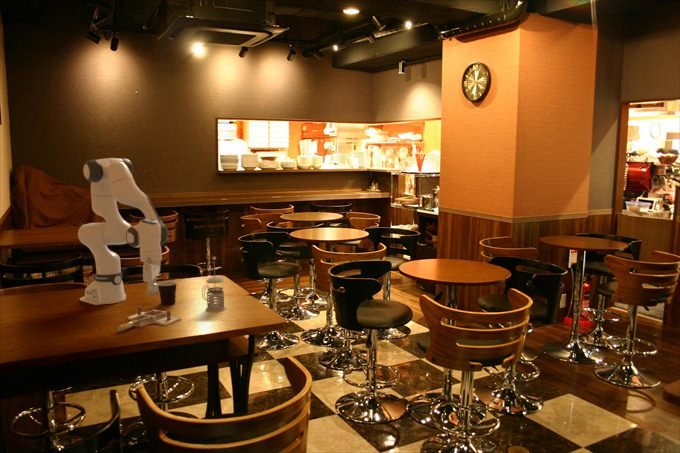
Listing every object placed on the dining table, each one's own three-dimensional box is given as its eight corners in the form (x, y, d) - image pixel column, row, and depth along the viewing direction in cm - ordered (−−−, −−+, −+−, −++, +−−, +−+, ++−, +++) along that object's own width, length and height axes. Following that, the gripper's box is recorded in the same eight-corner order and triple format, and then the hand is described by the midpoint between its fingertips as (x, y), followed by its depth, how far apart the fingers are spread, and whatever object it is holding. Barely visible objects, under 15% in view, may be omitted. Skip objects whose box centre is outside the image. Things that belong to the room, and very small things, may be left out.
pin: (123, 332, 227) (122, 325, 226) (117, 331, 228) (117, 324, 227) (139, 326, 235) (139, 319, 234) (134, 325, 236) (133, 318, 235)
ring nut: (146, 293, 244) (146, 282, 243) (157, 292, 245) (156, 281, 245) (148, 295, 240) (147, 284, 239) (158, 294, 241) (158, 283, 241)
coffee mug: (172, 306, 265) (171, 286, 263) (155, 305, 266) (154, 285, 265) (183, 300, 276) (182, 280, 275) (167, 299, 278) (166, 279, 276)
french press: (230, 308, 261) (229, 256, 257) (209, 314, 252) (207, 260, 249) (218, 305, 267) (216, 254, 264) (197, 310, 259) (195, 257, 255)
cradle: (117, 323, 240) (116, 311, 239) (143, 313, 253) (142, 303, 252) (155, 329, 230) (155, 318, 229) (180, 320, 244) (180, 309, 243)
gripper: (154, 260, 231) (155, 293, 232) (162, 252, 251) (163, 282, 252) (138, 261, 230) (140, 293, 232) (147, 252, 250) (149, 282, 252)
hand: (152, 287), depth 242 cm, fingers closed on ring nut, 4 cm apart
